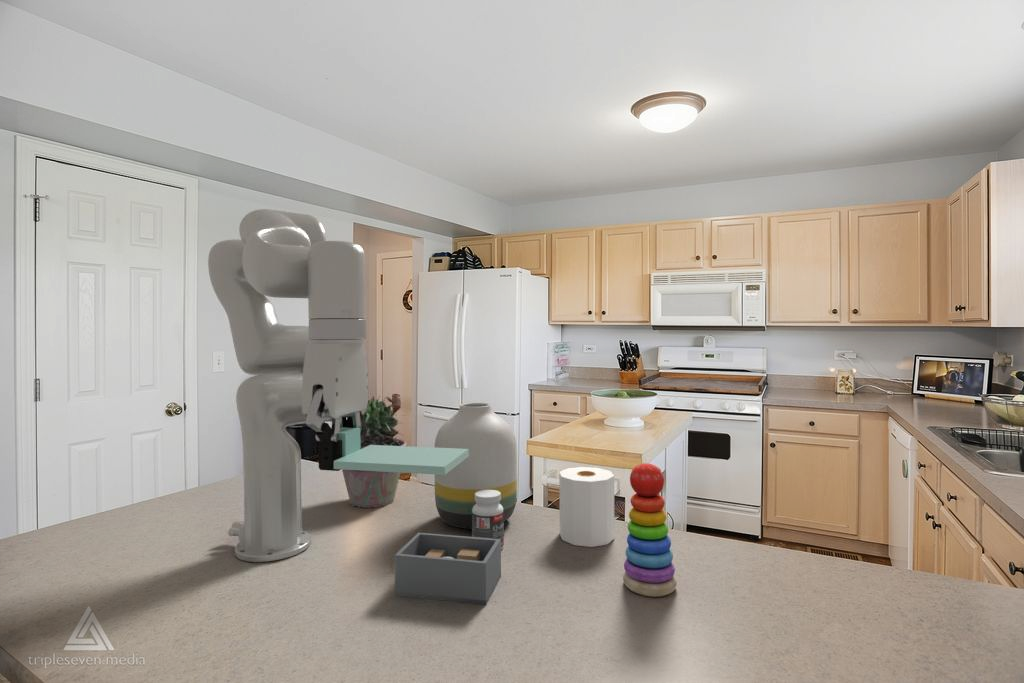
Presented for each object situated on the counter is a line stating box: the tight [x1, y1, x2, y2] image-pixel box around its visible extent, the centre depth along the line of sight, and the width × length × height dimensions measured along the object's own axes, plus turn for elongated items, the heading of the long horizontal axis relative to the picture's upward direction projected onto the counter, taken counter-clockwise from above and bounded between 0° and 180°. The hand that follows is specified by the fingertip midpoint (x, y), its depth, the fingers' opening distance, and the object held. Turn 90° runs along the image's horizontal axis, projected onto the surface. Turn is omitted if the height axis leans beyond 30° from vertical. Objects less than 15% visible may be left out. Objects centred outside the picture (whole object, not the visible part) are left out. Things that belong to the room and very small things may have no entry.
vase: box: [434, 402, 518, 530], centre depth 110 cm, size 17×17×24 cm
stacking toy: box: [622, 462, 677, 598], centre depth 82 cm, size 8×8×19 cm
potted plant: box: [341, 393, 407, 509], centre depth 123 cm, size 18×20×25 cm
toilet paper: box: [558, 466, 615, 548], centre depth 102 cm, size 10×10×12 cm
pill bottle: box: [471, 490, 505, 550], centre depth 97 cm, size 6×6×10 cm
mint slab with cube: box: [334, 427, 469, 475], centre depth 72 cm, size 19×10×4 cm, turn 77°
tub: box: [394, 532, 502, 606], centre depth 82 cm, size 14×9×6 cm, turn 77°
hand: (339, 464), depth 74 cm, fingers closed on mint slab with cube, 4 cm apart
